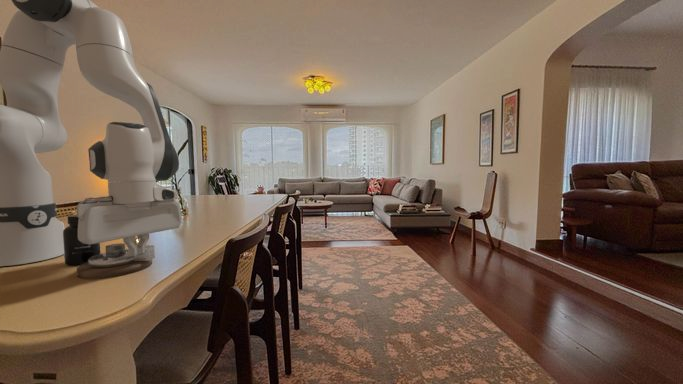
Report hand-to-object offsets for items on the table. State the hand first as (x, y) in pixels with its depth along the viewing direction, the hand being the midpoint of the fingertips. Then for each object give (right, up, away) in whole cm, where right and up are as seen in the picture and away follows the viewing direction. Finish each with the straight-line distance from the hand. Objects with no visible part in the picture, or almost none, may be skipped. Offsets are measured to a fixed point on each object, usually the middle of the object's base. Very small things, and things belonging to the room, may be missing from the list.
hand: (137, 254), depth 67 cm
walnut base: (-7, -4, +2) cm, 8 cm away
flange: (-5, -2, +2) cm, 6 cm away
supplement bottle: (-19, -4, +7) cm, 20 cm away
